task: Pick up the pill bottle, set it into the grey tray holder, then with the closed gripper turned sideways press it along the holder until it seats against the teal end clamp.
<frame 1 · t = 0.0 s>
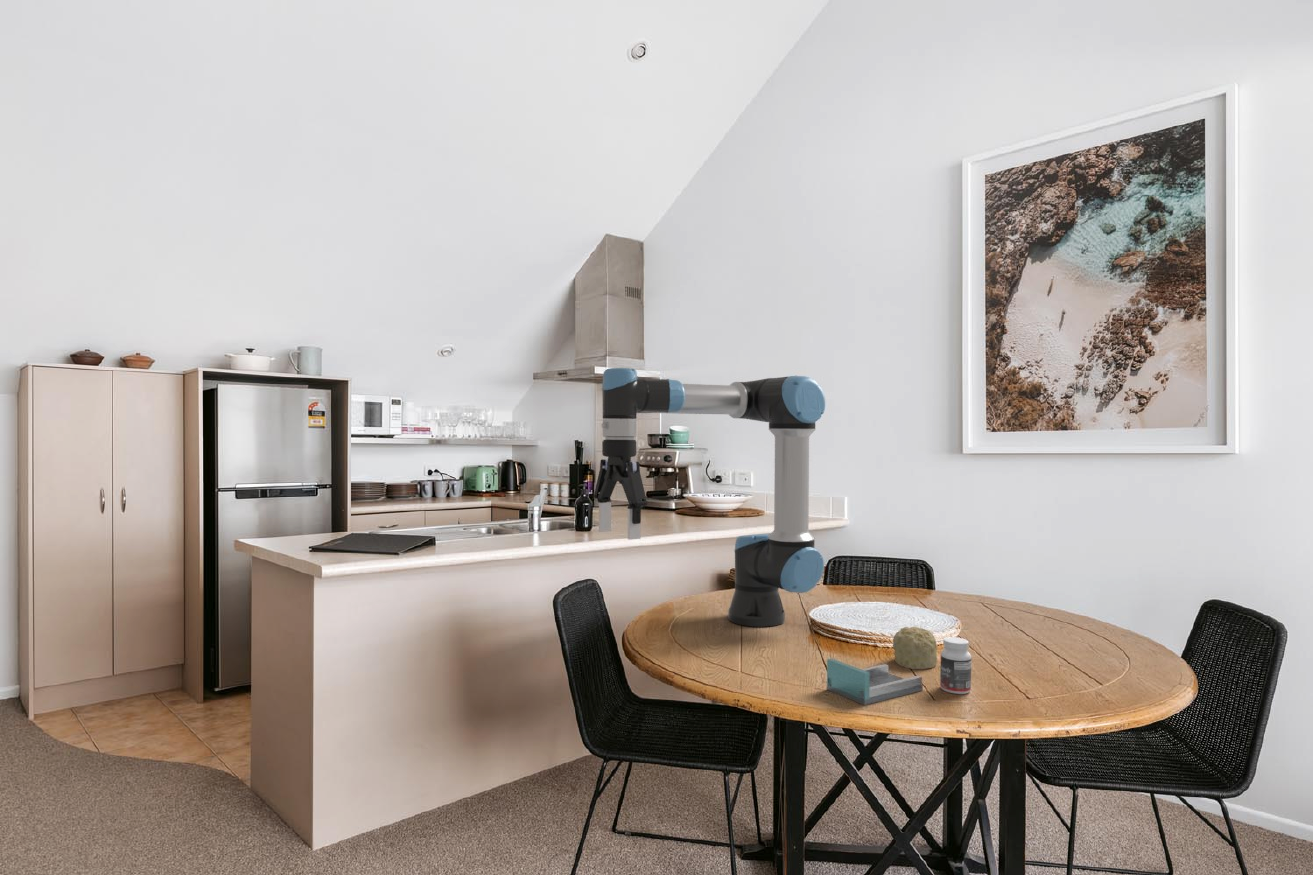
hand: (619, 535, 169), 28 cm above the table, fingers open, 13 cm apart
decorative object: (914, 663, 169), on the table
grey tray holder: (874, 689, 152), on the table
pill bottle: (955, 690, 152), on the table
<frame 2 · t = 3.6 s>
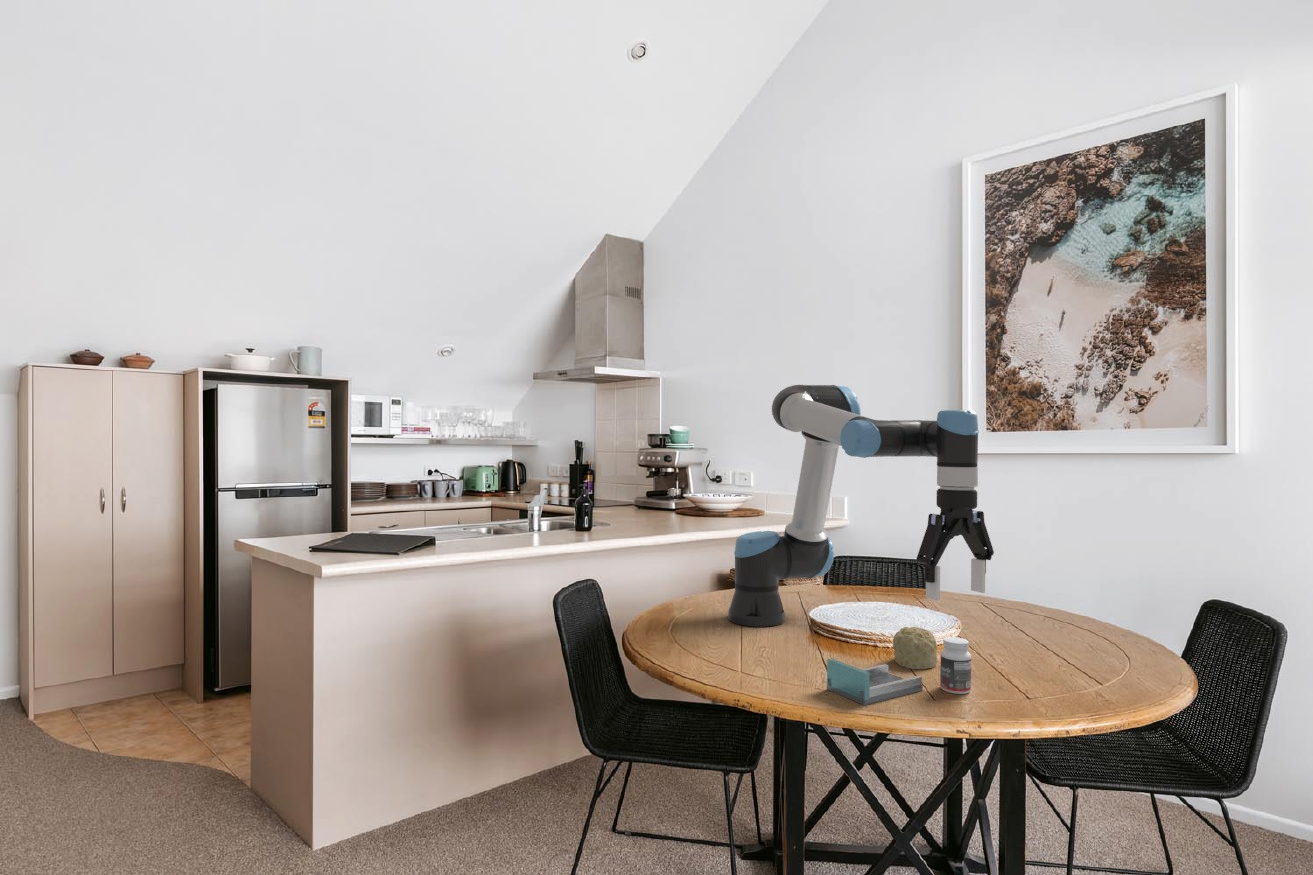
hand: (955, 595, 152), 19 cm above the table, fingers open, 13 cm apart
nothing on the table moved.
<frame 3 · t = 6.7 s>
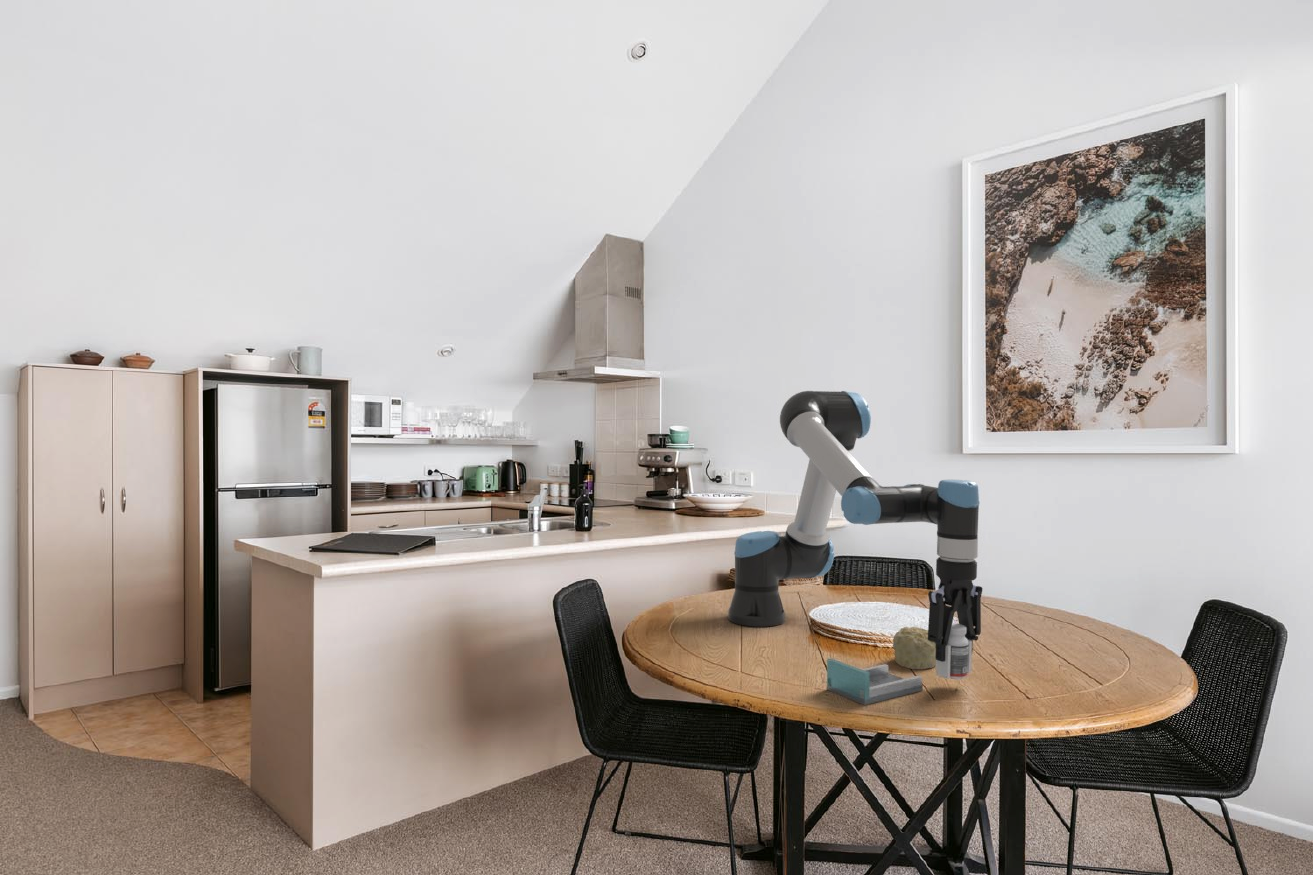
hand: (953, 673, 152), 3 cm above the table, fingers closed on pill bottle, 6 cm apart
pill bottle: (951, 675, 153), point 2 cm above the table, touching gripper
everything else where it was.
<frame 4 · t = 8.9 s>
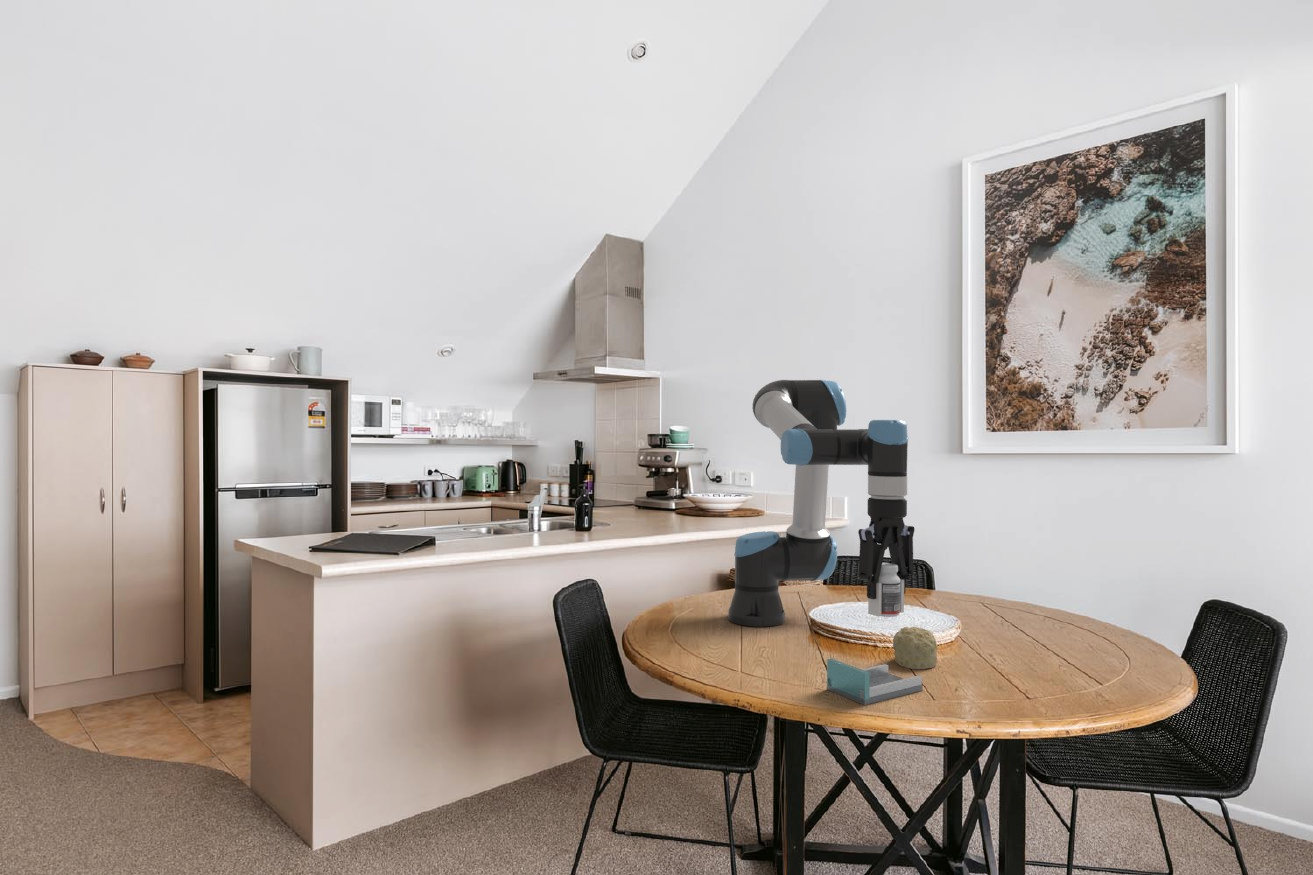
hand: (886, 612, 153), 15 cm above the table, fingers closed on pill bottle, 6 cm apart
pill bottle: (884, 614, 153), point 14 cm above the table, touching gripper
everything else where it was.
when the fingers open (2 cm above the table, at t = 11.4 s): pill bottle stays where it is, resting on grey tray holder.
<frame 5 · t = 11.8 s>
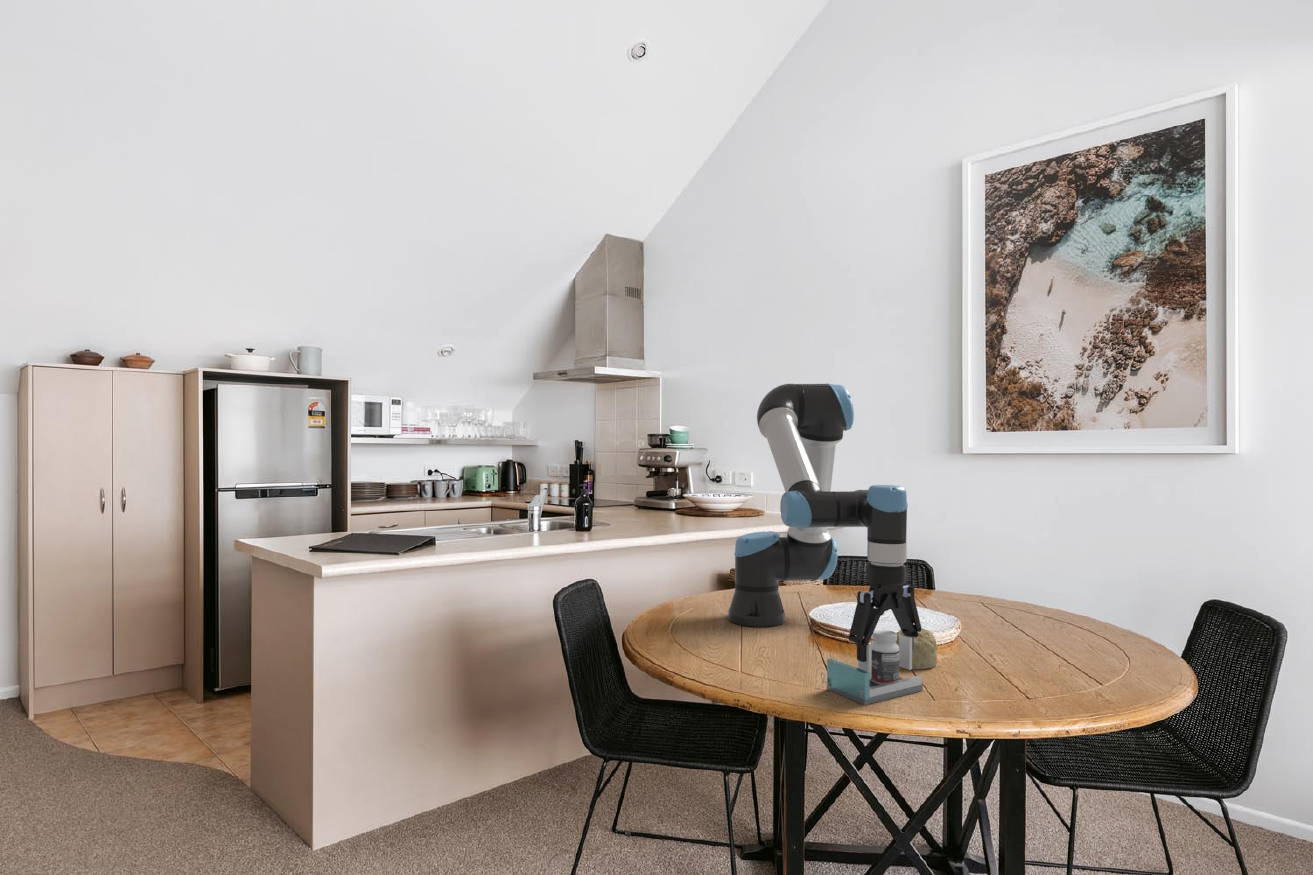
hand: (885, 672, 153), 3 cm above the table, fingers open, 11 cm apart
pill bottle: (884, 682, 154), point 1 cm above the table, touching grey tray holder
everything else where it was.
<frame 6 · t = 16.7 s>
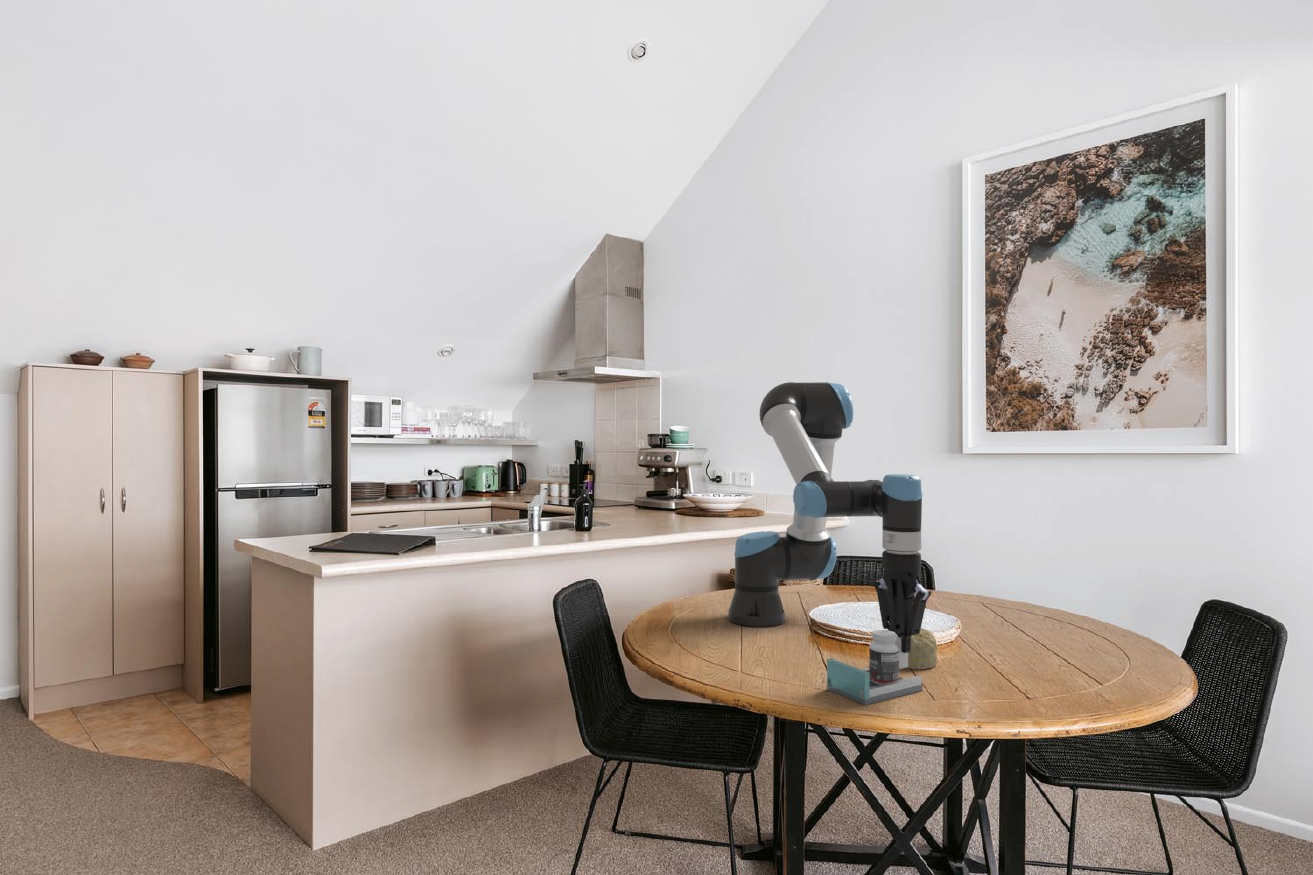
hand: (900, 666, 155), 3 cm above the table, fingers closed
pill bottle: (883, 682, 153), point 1 cm above the table, touching gripper, grey tray holder
everything else where it was.
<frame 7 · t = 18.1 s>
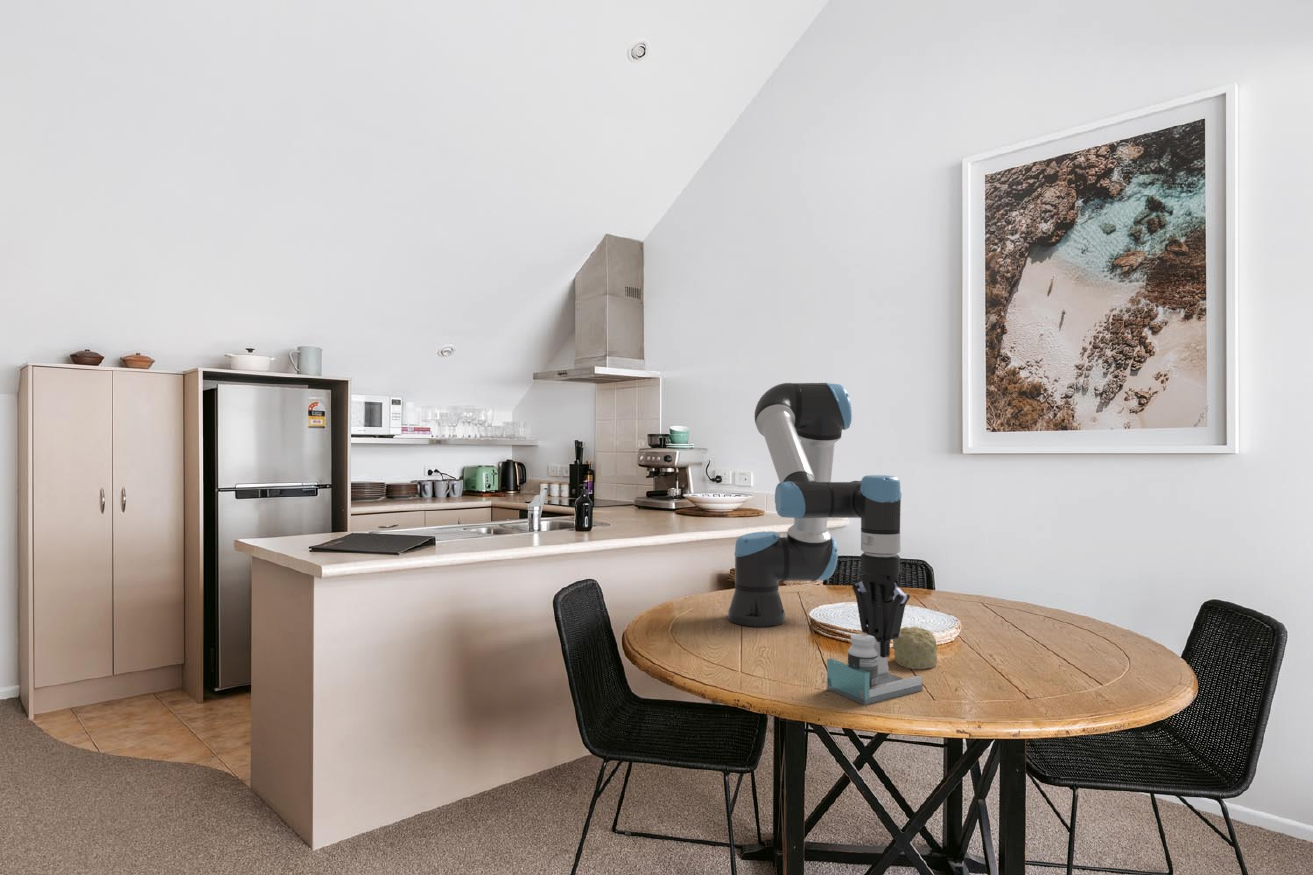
hand: (879, 671, 152), 3 cm above the table, fingers closed
pill bottle: (862, 688, 150), point 1 cm above the table, touching gripper, grey tray holder
everything else where it was.
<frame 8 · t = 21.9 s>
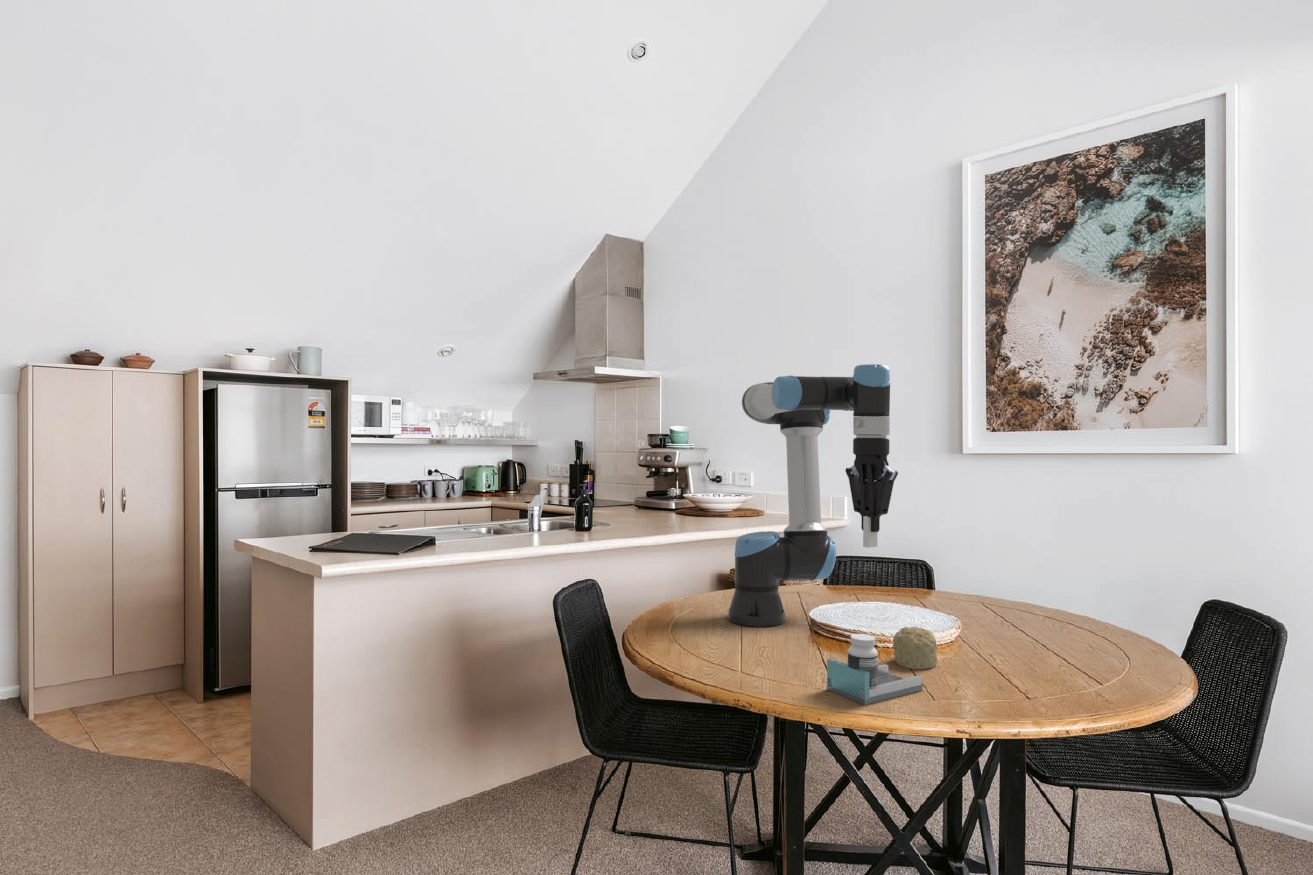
hand: (870, 546, 164), 26 cm above the table, fingers closed
pill bottle: (862, 688, 150), point 1 cm above the table, touching grey tray holder
everything else where it was.
at the end: pill bottle 0.6 cm from the target spot on the grey tray holder, point 0.8 cm above the grey tray holder's base; pill bottle tilted 0°; the gripper is holding nothing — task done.
